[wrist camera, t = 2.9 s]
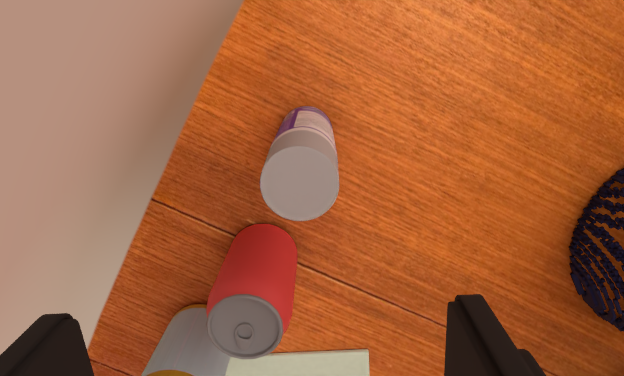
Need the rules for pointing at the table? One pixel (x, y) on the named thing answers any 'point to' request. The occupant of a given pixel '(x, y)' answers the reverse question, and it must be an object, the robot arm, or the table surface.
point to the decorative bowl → (600, 254)
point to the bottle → (187, 348)
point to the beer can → (253, 293)
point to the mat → (303, 364)
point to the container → (301, 166)
